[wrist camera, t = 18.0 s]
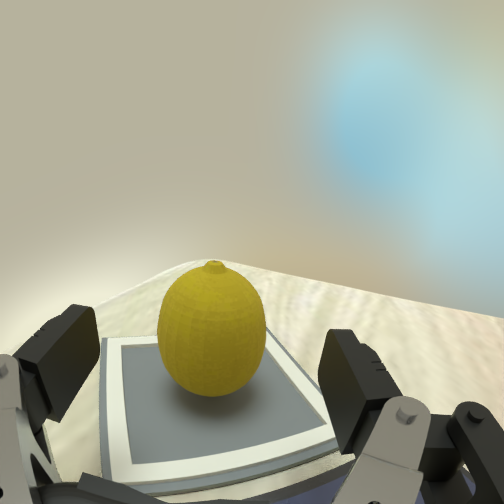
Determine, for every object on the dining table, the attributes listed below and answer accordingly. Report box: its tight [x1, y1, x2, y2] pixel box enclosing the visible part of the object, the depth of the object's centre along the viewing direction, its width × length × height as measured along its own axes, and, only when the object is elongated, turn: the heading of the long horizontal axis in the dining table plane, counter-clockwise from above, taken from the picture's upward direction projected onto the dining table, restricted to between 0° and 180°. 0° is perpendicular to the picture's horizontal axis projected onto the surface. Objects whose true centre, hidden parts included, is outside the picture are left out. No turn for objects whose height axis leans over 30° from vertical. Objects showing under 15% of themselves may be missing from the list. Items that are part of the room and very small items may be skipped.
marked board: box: [99, 327, 339, 497], centre depth 16 cm, size 13×13×1 cm
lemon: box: [157, 260, 266, 397], centre depth 15 cm, size 6×6×8 cm
